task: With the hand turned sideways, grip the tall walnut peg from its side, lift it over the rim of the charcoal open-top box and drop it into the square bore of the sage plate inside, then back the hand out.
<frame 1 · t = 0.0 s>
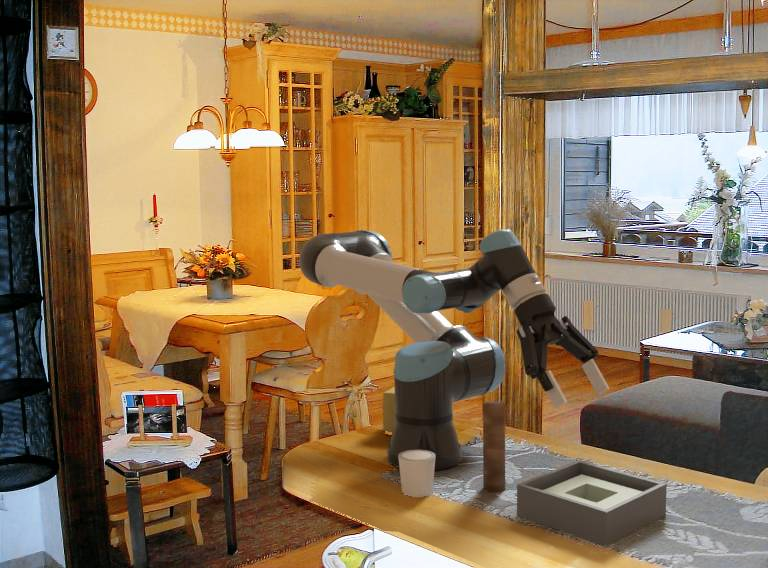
hand: (583, 398, 168), 15 cm above the counter, tool tilted 35°, fingers open, 13 cm apart
open box: (591, 515, 151), on the counter
white cup: (417, 492, 164), on the counter
cheese: (411, 432, 202), on the counter
peg: (494, 488, 164), on the counter
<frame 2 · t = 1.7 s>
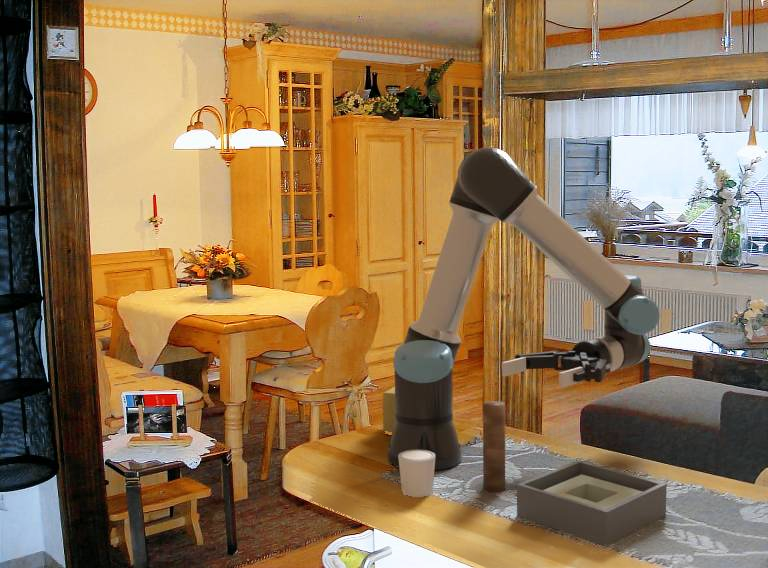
hand: (531, 374, 169), 20 cm above the counter, tool horizontal, fingers open, 13 cm apart
nothing on the counter moved.
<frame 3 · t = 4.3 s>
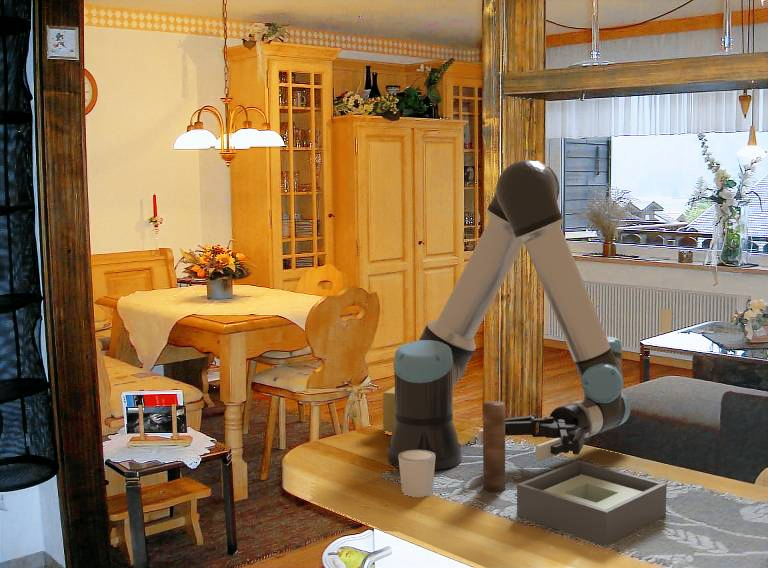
hand: (507, 445, 164), 8 cm above the counter, tool horizontal, fingers open, 13 cm apart
nothing on the counter moved.
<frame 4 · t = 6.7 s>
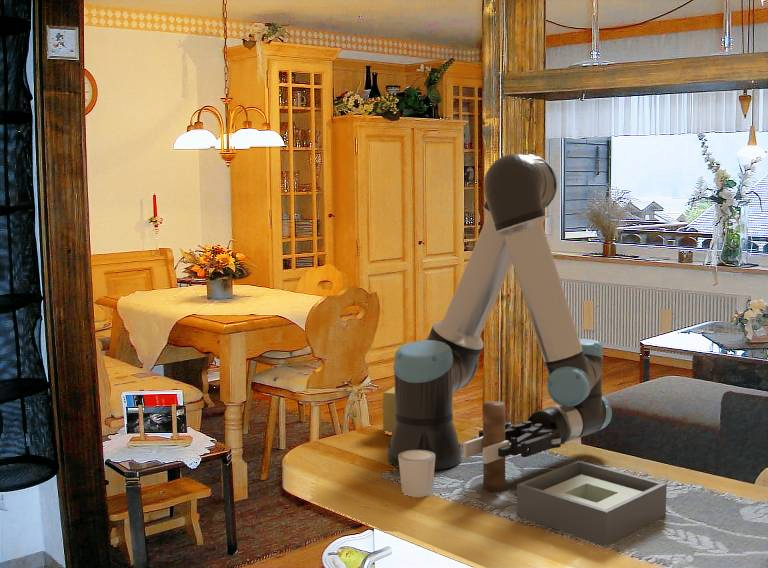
hand: (474, 453, 160), 8 cm above the counter, tool horizontal, fingers closed on peg, 4 cm apart
peg: (494, 488, 164), on the counter, touching gripper
everything else where it was.
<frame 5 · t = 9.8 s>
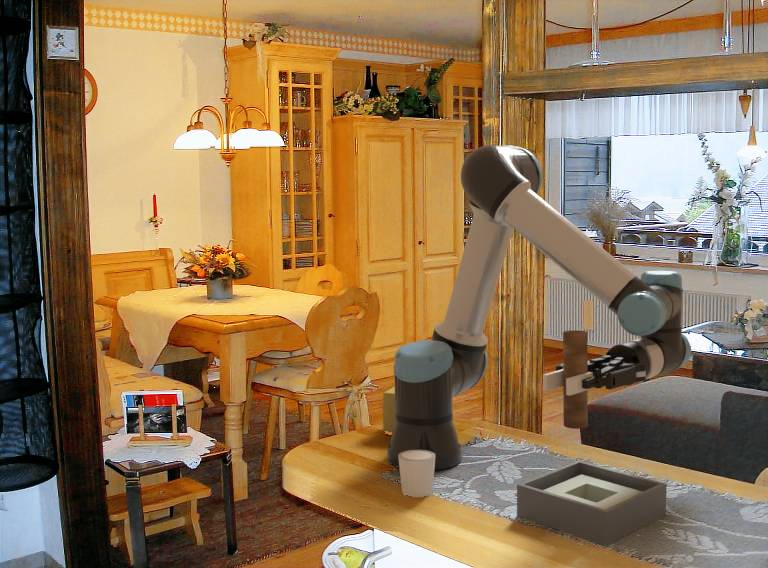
hand: (556, 385, 147), 23 cm above the counter, tool horizontal, fingers closed on peg, 4 cm apart
peg: (575, 425, 152), point 15 cm above the counter, touching gripper
everything else where it was.
when the fingers open (11 cm above the counter, at t = 13.1 s): peg drops 1 cm, resting on open box.
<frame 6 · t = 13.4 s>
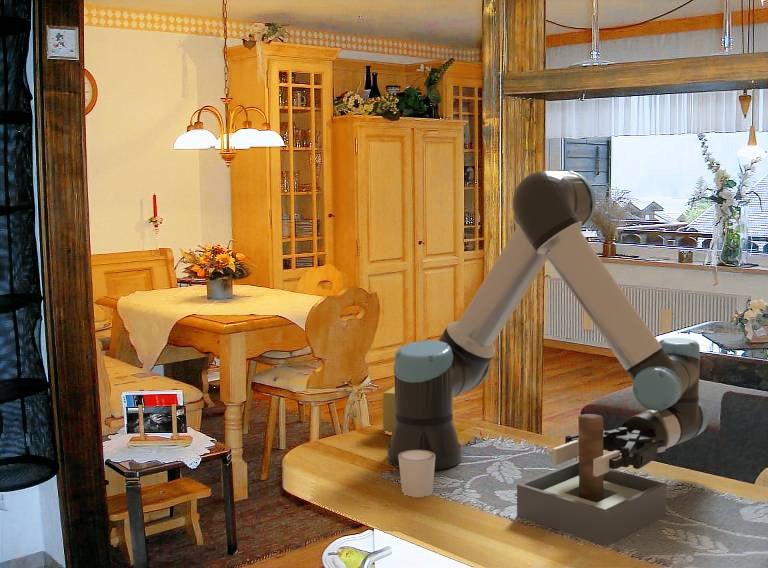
hand: (574, 462, 146), 10 cm above the counter, tool horizontal, fingers open, 7 cm apart
peg: (591, 509, 151), point 1 cm above the counter, touching open box
everything else where it was.
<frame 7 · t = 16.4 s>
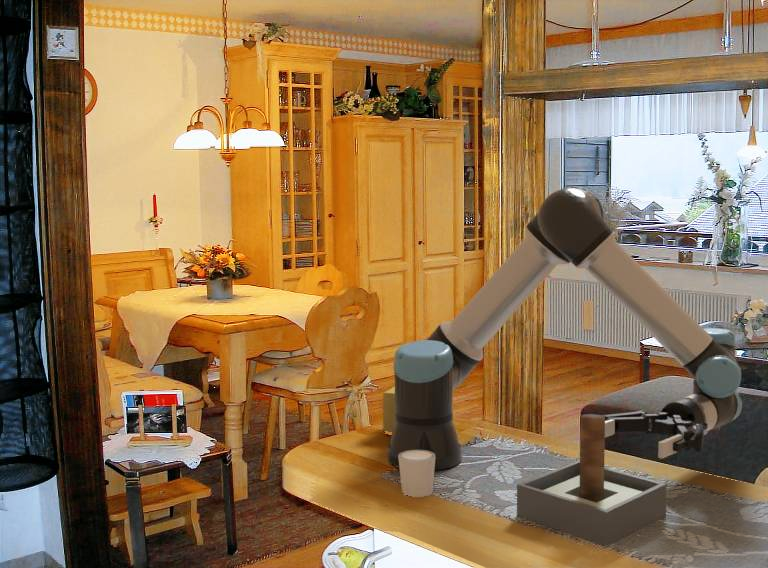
hand: (625, 442, 156), 11 cm above the counter, tool horizontal, fingers open, 13 cm apart
nothing on the counter moved.
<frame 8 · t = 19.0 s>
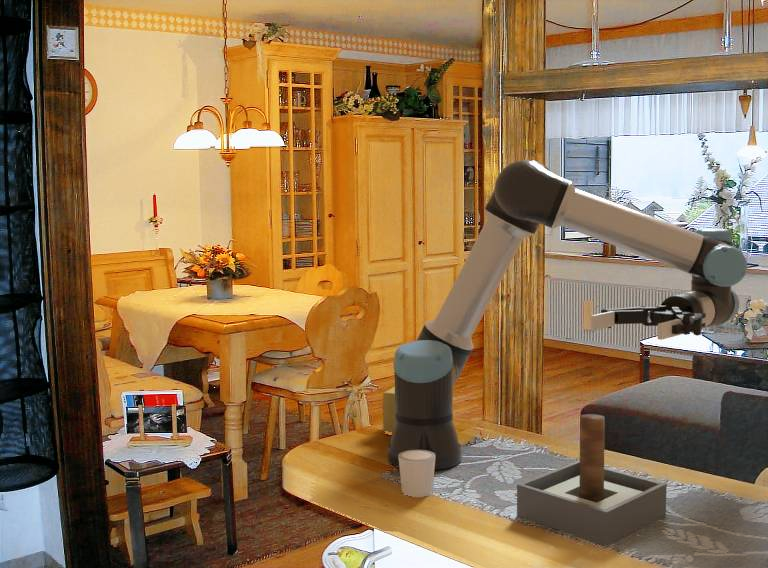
hand: (624, 327, 159), 30 cm above the counter, tool horizontal, fingers open, 13 cm apart
nothing on the counter moved.
at the end: peg 0.1 cm off-centre on the open box, point 1.0 cm above the open box's base; peg tilted 0°; the gripper is holding nothing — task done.
